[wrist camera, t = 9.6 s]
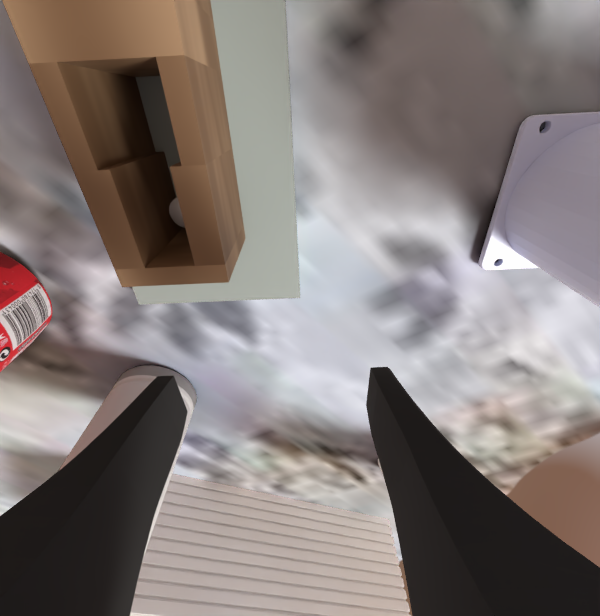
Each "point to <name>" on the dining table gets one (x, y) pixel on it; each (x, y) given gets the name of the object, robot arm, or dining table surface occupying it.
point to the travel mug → (121, 398)
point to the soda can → (20, 309)
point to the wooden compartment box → (141, 129)
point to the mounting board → (244, 154)
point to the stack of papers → (265, 557)
